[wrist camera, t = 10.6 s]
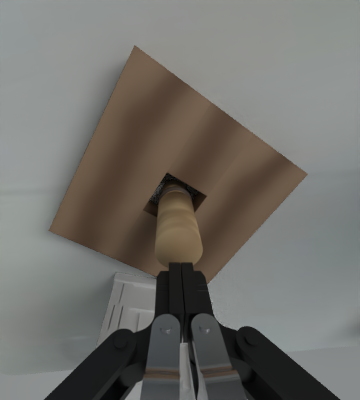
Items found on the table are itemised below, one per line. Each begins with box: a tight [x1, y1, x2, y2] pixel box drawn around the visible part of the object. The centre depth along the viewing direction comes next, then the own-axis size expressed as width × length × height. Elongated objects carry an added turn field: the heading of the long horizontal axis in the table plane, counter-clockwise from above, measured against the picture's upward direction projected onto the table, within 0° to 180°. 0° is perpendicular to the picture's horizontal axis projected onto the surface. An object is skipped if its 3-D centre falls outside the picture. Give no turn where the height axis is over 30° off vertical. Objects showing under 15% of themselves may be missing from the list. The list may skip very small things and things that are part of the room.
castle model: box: [95, 272, 194, 400], centre depth 28 cm, size 13×15×14 cm
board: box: [49, 46, 308, 284], centre depth 24 cm, size 20×20×3 cm
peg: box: [155, 180, 203, 268], centre depth 20 cm, size 4×4×11 cm
